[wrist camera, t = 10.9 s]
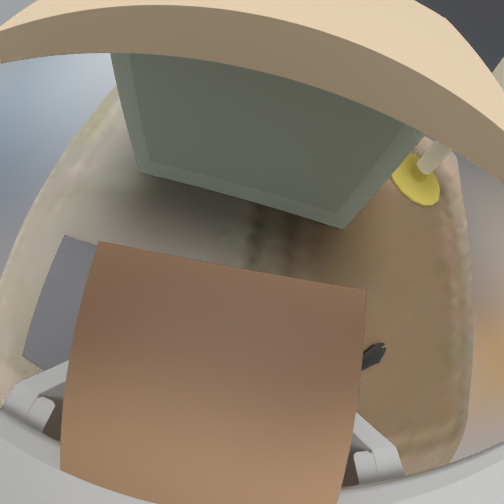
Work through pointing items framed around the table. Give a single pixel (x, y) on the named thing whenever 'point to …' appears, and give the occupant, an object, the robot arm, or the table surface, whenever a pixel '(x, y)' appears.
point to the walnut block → (211, 382)
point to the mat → (59, 305)
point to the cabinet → (279, 91)
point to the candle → (428, 166)
